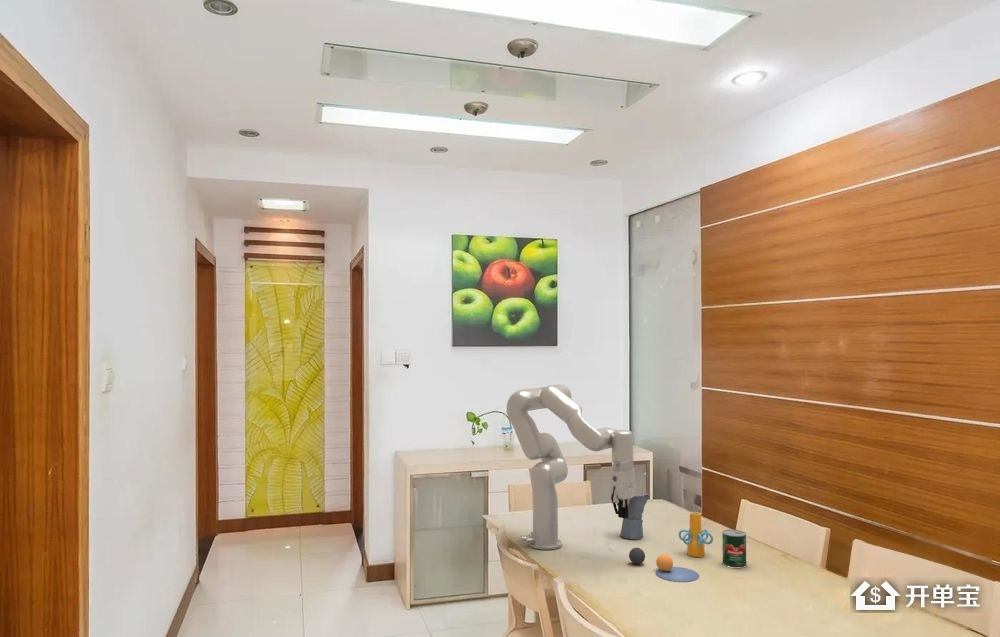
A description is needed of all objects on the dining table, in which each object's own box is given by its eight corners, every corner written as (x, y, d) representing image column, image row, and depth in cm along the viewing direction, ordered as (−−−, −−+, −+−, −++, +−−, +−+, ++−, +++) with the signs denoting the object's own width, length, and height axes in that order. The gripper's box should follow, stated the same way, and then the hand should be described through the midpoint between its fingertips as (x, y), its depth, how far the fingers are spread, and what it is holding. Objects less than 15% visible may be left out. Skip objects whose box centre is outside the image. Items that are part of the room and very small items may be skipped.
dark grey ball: (626, 550, 233) (630, 566, 232) (642, 547, 232) (646, 564, 231) (627, 548, 239) (631, 564, 237) (643, 545, 238) (647, 561, 236)
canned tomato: (731, 569, 229) (730, 536, 229) (718, 562, 237) (717, 530, 237) (751, 567, 231) (751, 534, 231) (737, 559, 239) (737, 528, 239)
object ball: (651, 563, 227) (664, 572, 223) (659, 549, 228) (673, 558, 224) (656, 567, 231) (669, 576, 227) (664, 553, 232) (677, 562, 228)
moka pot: (653, 540, 262) (652, 488, 263) (613, 540, 262) (612, 488, 263) (648, 533, 271) (647, 483, 272) (609, 533, 272) (609, 483, 272)
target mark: (669, 584, 215) (669, 583, 215) (648, 569, 229) (648, 569, 229) (707, 579, 219) (707, 578, 219) (684, 565, 233) (684, 565, 233)
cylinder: (675, 556, 243) (675, 514, 243) (682, 548, 252) (681, 508, 252) (710, 561, 237) (709, 518, 237) (715, 553, 246) (715, 511, 247)
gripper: (619, 469, 232) (620, 523, 231) (643, 463, 242) (643, 515, 242) (601, 467, 237) (602, 519, 236) (625, 461, 248) (625, 511, 247)
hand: (623, 517), depth 239 cm, fingers closed
